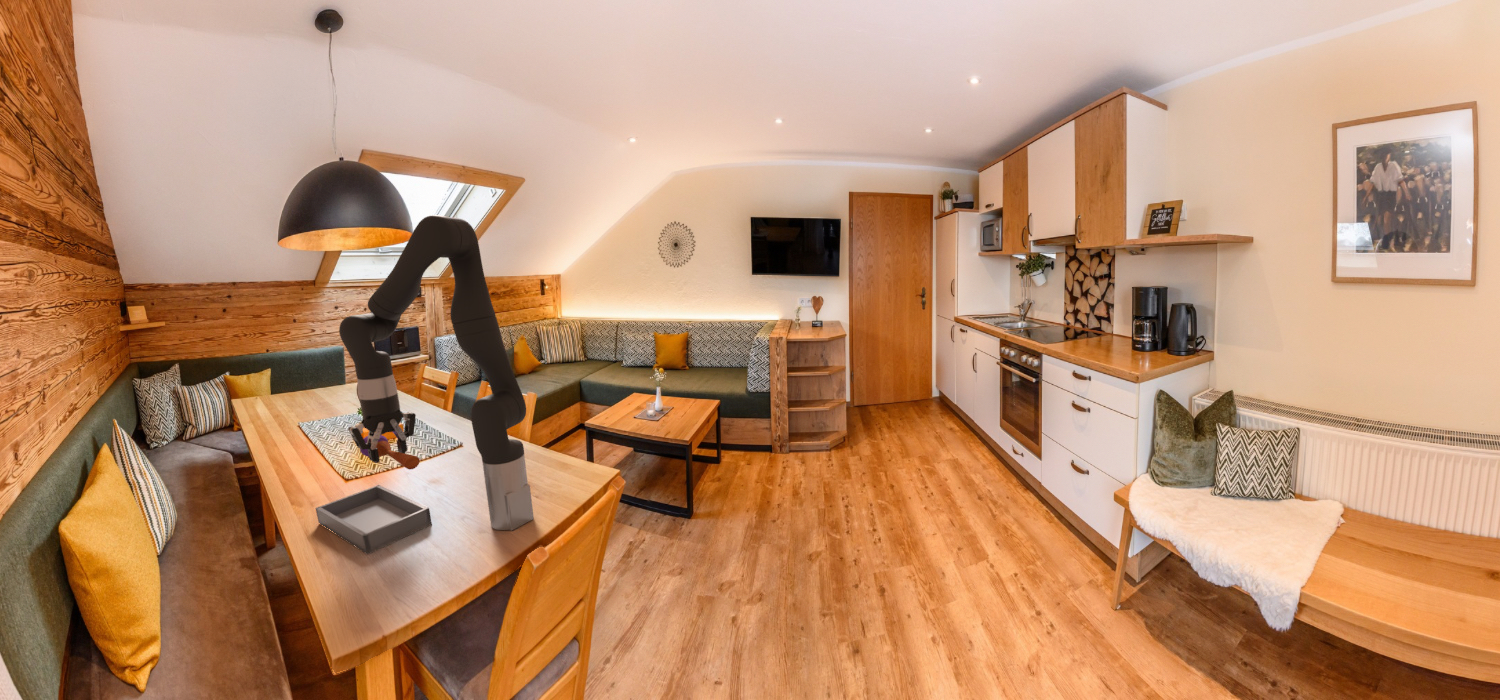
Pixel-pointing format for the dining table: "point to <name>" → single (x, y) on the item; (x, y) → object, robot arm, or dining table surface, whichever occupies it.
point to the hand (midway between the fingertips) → (389, 457)
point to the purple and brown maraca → (393, 453)
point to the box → (374, 518)
